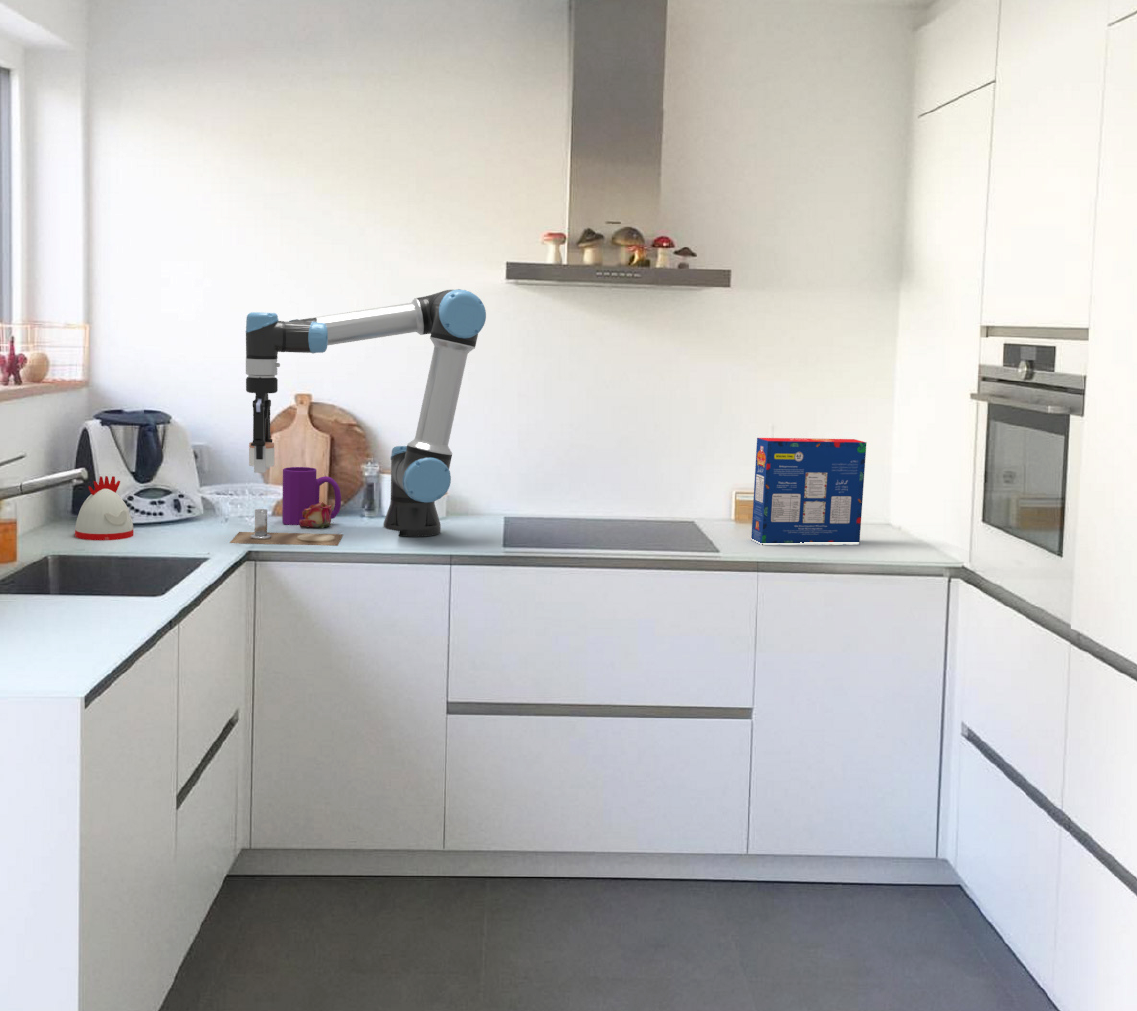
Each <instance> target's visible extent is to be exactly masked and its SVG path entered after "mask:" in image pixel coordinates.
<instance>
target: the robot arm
mask: <svg viewBox="0 0 1137 1011" xmlns="http://www.w3.org/2000/svg"><path fill="white" fill-rule="evenodd" d="M486 319H487V310H486V307H485V305H484V303H483V302H482V299H481V298H480V297H478V296H477V294H475V293H473V292H472V291H470V290H469V291H468V290H466V289H459V288H458V289H445V290H442V291H440V292H436V293H433V294H430V295H425V296H421V297H415V298H414V299H412V301H411V302H406V303H400V304H395V305H394V304H393V305H387V306H381V307H374V308H368V309H361V310H355V311H349V312H341V313H335V314H328V315H322V316H316V317H308V318H304V319H301V318H300V319H292V320H291V319H290V320H289V321H284V320H279V316H278V314H277V313H275V312H262V311H261V312H257V311H256V312H253V311H252V312H249V313H248V314H247V315H246V321H245V322H246V324H245V325H246V326H245V374H246V375H247V377H246V378H245V391H246V392H247V393H249V394H250V393H251V394H255V398H254V400H252V421H253V422H252V442H253V443H251V446H254V467H253V473H256V474H257V473H258V474H259V473H260V474H266V472H267V470H270V467H266V446H265V442H272V443H273V438H272V439H271V437H272V436H271V406H272V400H271V399H269V394H276V393H277V392H278V388H279V387H278V386H279V385H278V381H279V380H278V378H277V377H276V376H277V375H278V368H279V367H281V364H280V363H279V362H278V359H279V358H278V353H299V354H300V353H301V354H302V353H303V354H305V353H306V354H308V353H309V354H317V353H320V354H321V353H322V354H323V353H325V352H326V351H327V350H328V349H327V348H328V346H333V345H339V344H346V343H352V342H353V343H354V342H358V341H359V342H360V341H367V340H371V339H372V340H373V339H378V338H385V337H392V336H397V335H403V334H411V333H417V334H418V335H420V336H423V335H430V336H429V339H430V341H431V342H432V344H433V346H434V347H433V352H432V356H431V361H430V366H429V371H428V374H427V379H426V385H425V390H424V395H423V400H422V404H421V409H420V412H419V413H420V414H419V418H418V421H417V427H416V431H415V432H416V433H415V436H414V438H413V439H412V440H411V441H410V442H408V443H407V444H406V445H396V446H393V447H392V449H391V455H390V468H391V469H390V502H389V507H388V508H387V512H386V516H385V518H384V520H383V525H382V526H383V527H382V528H384V529H387V530H391V531H394V532H395V531H396V532H398V537H413V538H415V537H430V536H432V537H433V536H436V535H439V534H441V532H442V531H441V526H442V525H441V521H440V518H439V514H438V512H437V508H436V503H435V502H436V501H439V500H440V499H441V498H443V497H444V496H445V495H446V494H447V493H448V491H449V489H450V487H451V482H452V479H451V478H452V476H451V471H450V466H451V461H452V458H453V457H452V456H453V452H452V451H451V449H450V447H449V442H450V438H451V434H452V433H451V432H452V428H453V426H454V425H453V423H454V420H455V416H456V415H455V414H456V411H457V410H456V409H457V405H458V400H459V395H460V393H461V392H460V391H461V388H462V387H461V385H462V382H463V377H464V374H465V372H464V371H465V370H466V369H465V367H466V363H467V359H468V354H469V353H470V352H472V351H473V350H474V349H476V345H477V341H478V337H479V333H480V332H481V331H482V329H483V328H484V326H485V324H486Z"/></svg>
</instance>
